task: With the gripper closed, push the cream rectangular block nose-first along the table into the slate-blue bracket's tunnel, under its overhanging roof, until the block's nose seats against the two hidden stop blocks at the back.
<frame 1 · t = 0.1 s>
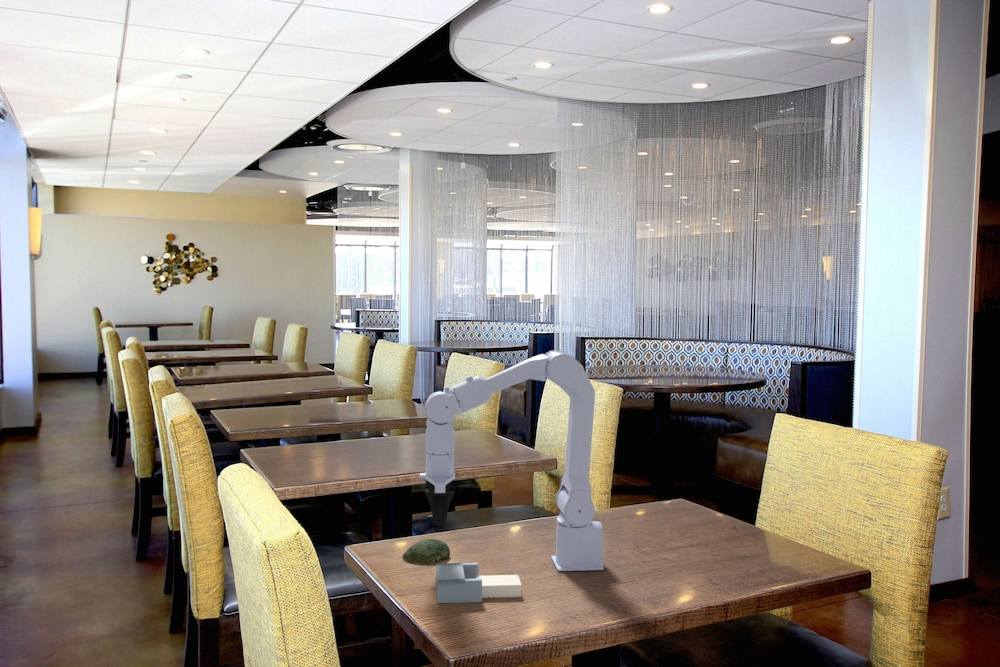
hand: (439, 519, 156), 10 cm above the table, fingers open, 7 cm apart
seashell: (426, 558, 163), on the table
bracket: (458, 592, 144), on the table
cream rectangular block: (498, 593, 145), on the table
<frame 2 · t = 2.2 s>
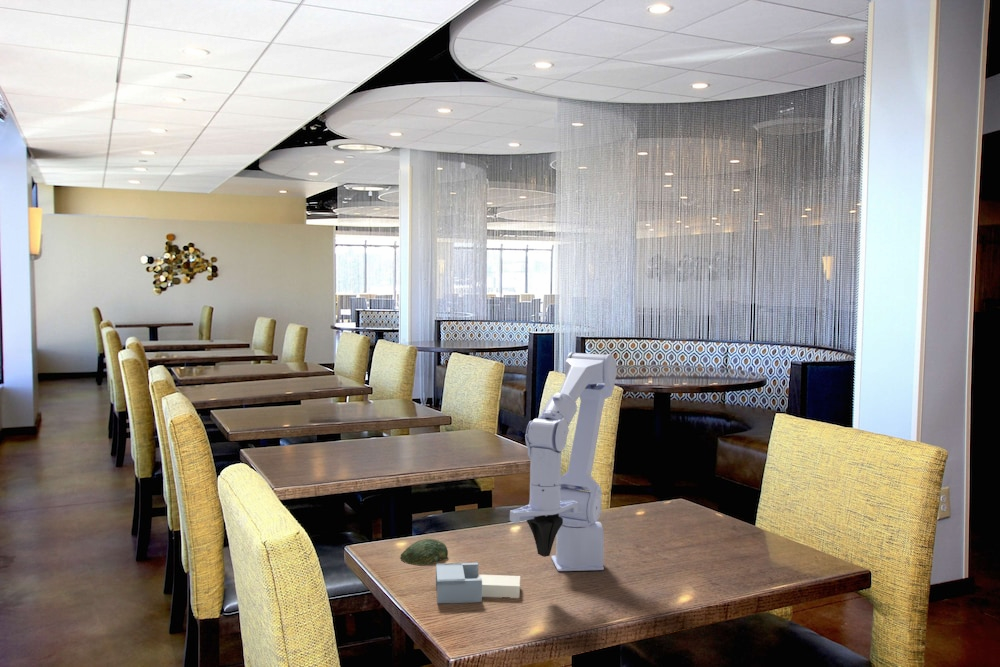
hand: (543, 554, 145), 7 cm above the table, fingers closed
nothing on the table moved.
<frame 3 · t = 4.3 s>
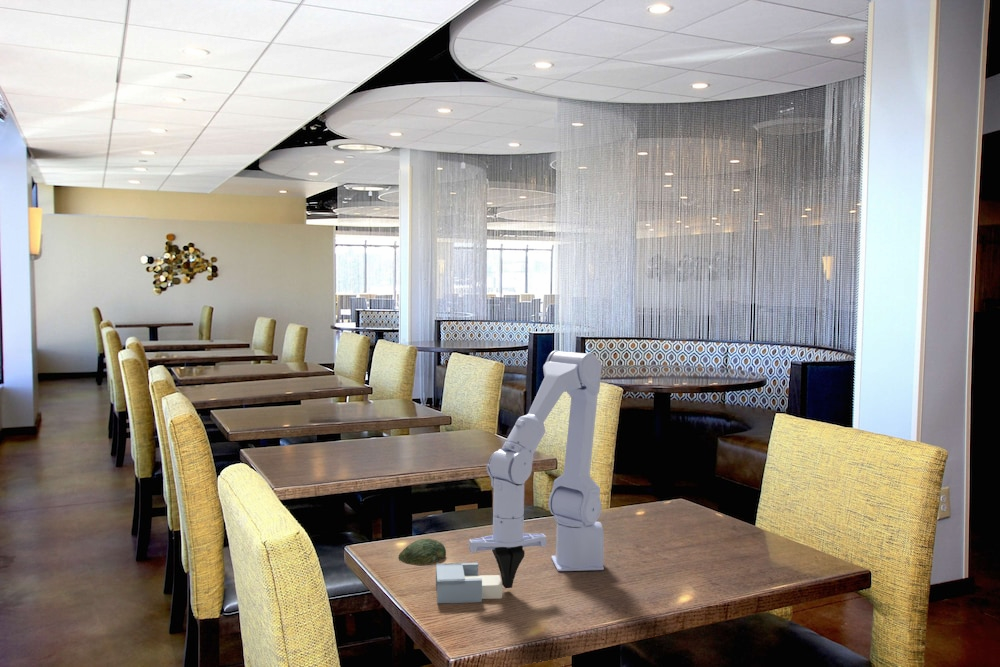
hand: (507, 586, 145), 1 cm above the table, fingers closed
cream rectangular block: (479, 594, 144), on the table
everything else where it was.
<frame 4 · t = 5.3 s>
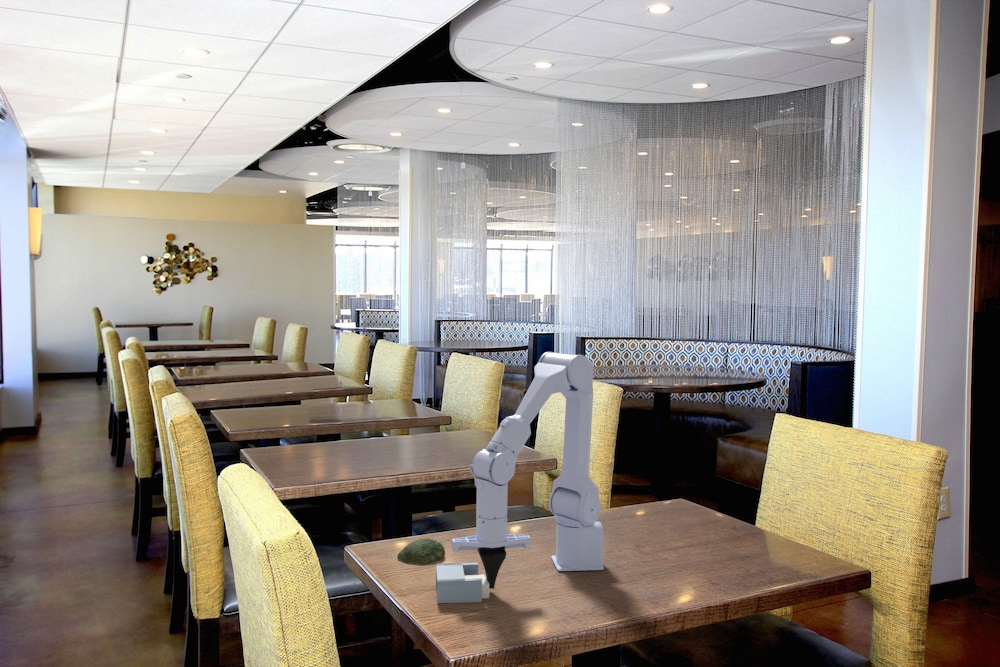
hand: (490, 586, 144), 1 cm above the table, fingers closed
cream rectangular block: (465, 594, 143), on the table, touching bracket, gripper
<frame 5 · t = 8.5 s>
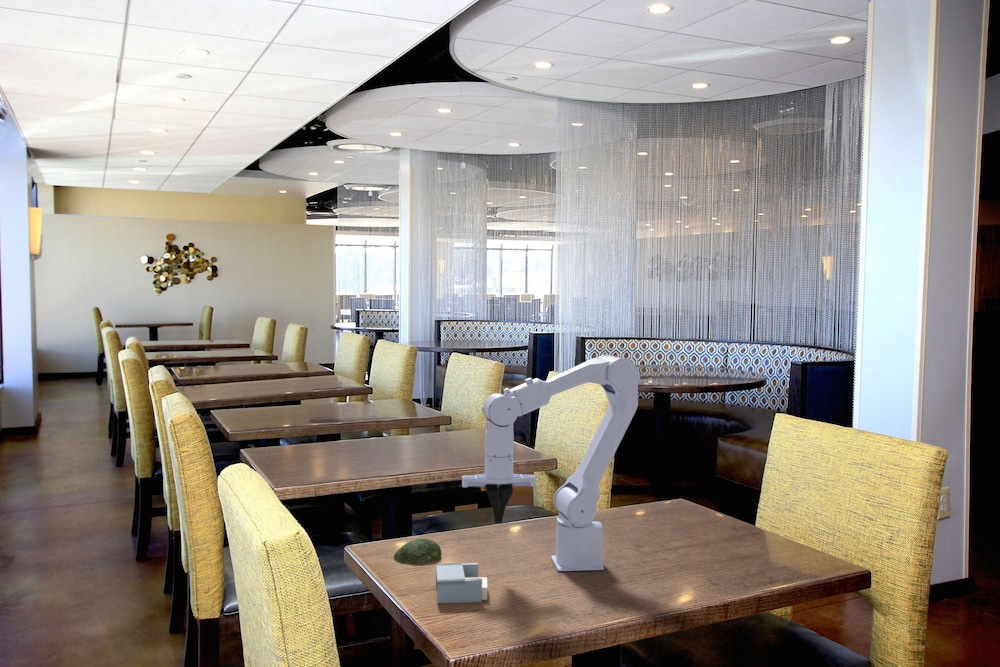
hand: (498, 521, 155), 10 cm above the table, fingers closed
cream rectangular block: (465, 596, 143), on the table
at the end: cream rectangular block 0.6 cm from the target spot on the bracket, point 0.0 cm above the bracket's base; cream rectangular block tilted 0° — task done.
